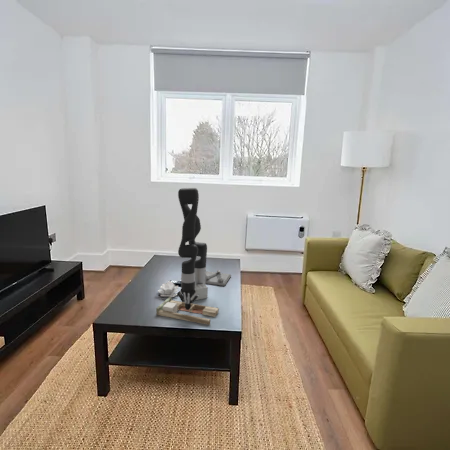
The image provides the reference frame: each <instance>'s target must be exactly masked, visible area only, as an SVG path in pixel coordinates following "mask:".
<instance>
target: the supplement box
mask: <svg viewBox="0 0 450 450" xmlns="http://www.w3.org/2000/svg"><path fill="white" fill-rule="evenodd" d="M208 289H209V287H208V286H207V284H206V285H204V284H197V285H195V291H196V292H195V293H196V294H199V296H198V297H197V299H196V300H195V301H198V300H204V299H207V298H208V291H209V290H208ZM193 299H194V295H193V296H192V299H191V300H193Z"/></svg>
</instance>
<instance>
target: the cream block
mask: <svg viewBox="0 0 450 450" xmlns="http://www.w3.org/2000/svg"><path fill="white" fill-rule="evenodd" d="M163 311H169V312H174V313H178V310H177V303H171V302H167V303H166V304H165V305H164V306H163Z"/></svg>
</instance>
